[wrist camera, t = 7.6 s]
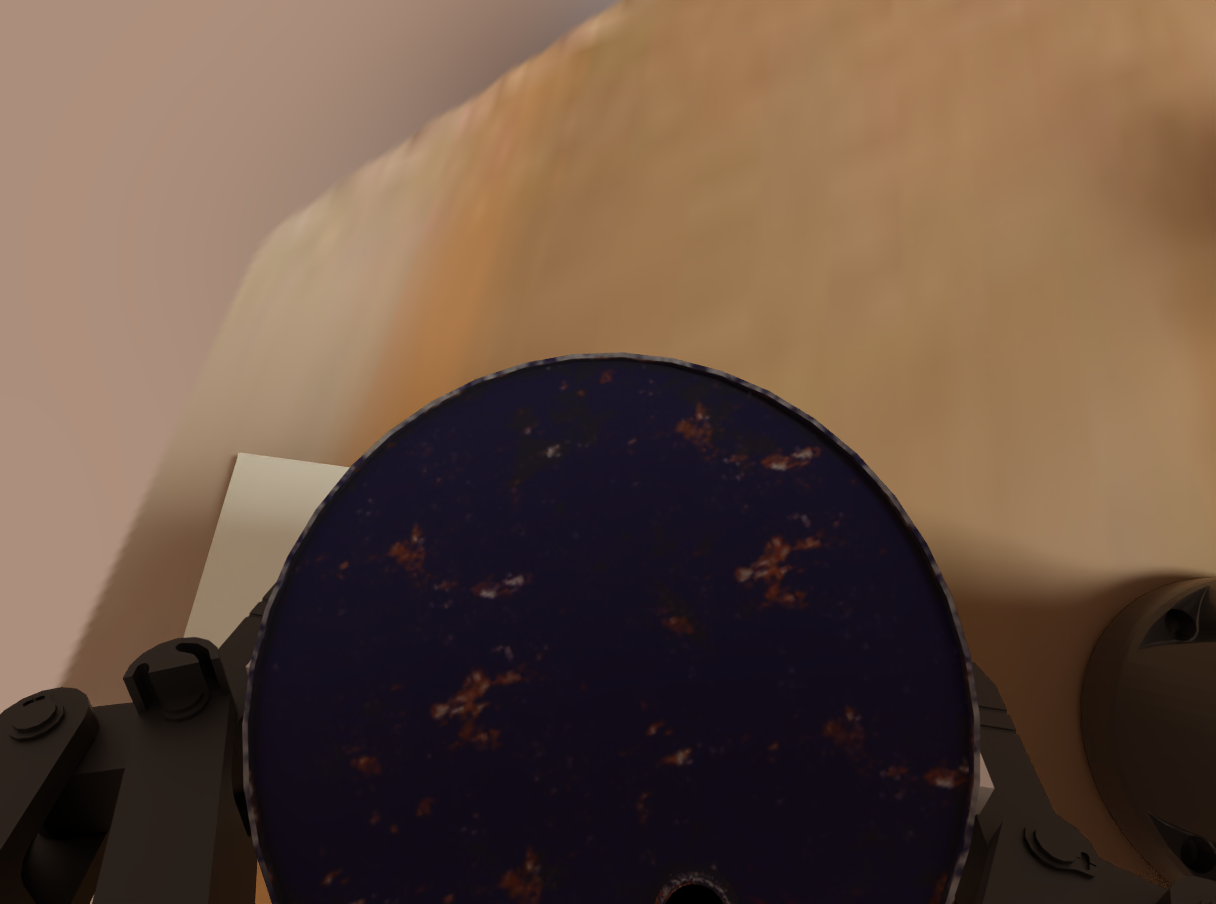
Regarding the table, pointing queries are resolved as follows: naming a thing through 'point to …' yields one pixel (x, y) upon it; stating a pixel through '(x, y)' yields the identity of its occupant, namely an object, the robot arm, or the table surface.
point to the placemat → (255, 537)
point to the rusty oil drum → (611, 660)
